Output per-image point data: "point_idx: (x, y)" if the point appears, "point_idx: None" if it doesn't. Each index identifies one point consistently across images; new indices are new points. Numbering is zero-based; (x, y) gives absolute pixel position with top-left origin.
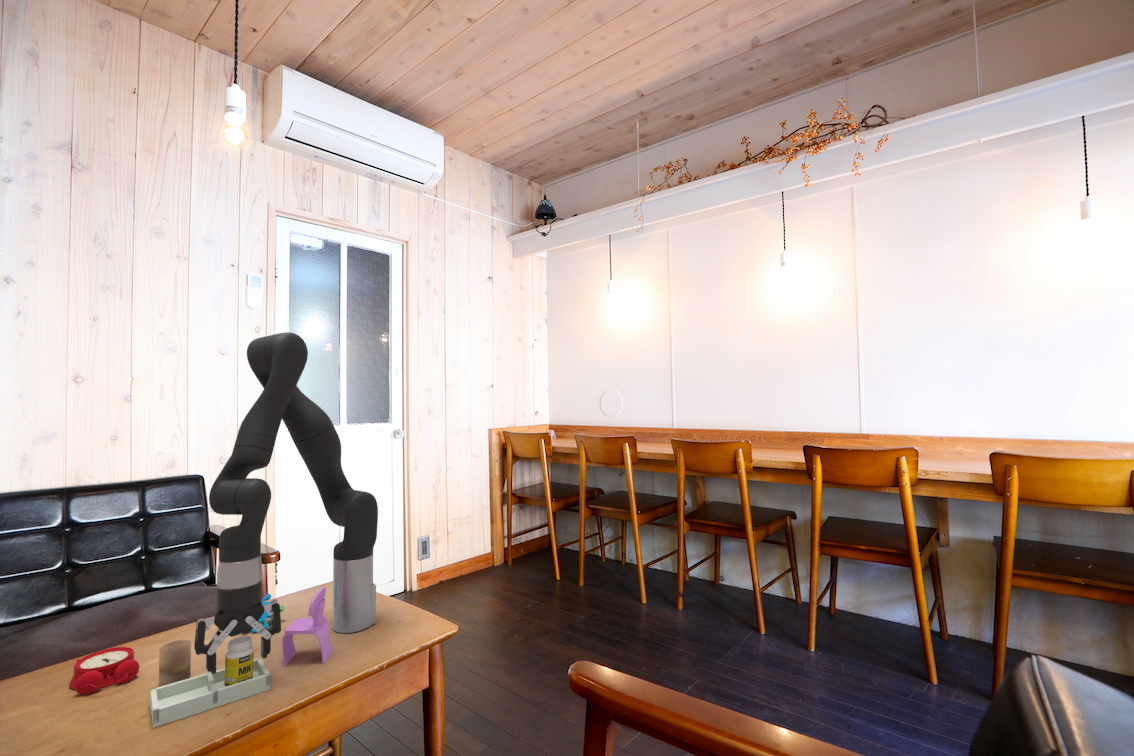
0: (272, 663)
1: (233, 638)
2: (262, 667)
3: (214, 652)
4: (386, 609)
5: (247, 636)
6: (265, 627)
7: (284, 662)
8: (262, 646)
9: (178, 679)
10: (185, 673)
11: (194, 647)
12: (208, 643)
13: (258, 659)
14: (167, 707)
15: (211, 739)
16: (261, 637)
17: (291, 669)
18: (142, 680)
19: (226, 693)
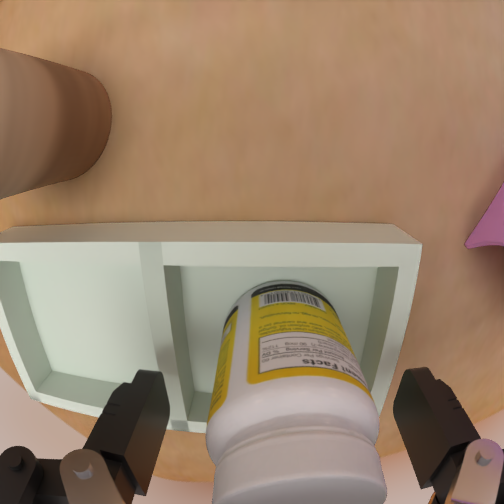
0: (448, 180)
1: (263, 486)
2: (383, 363)
3: (132, 492)
4: None
5: (371, 492)
6: (497, 484)
7: (476, 246)
8: (415, 445)
9: (41, 186)
10: (53, 173)
11: (3, 465)
12: (66, 490)
13: (406, 260)
14: (57, 405)
15: (185, 481)
16: (447, 453)
17: (468, 293)
18: (9, 13)
19: None
